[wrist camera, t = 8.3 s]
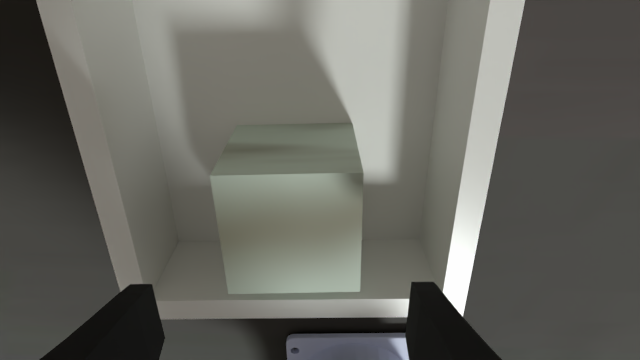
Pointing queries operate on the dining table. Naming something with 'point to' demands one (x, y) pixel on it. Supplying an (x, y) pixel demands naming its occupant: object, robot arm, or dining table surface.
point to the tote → (286, 108)
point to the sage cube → (290, 208)
